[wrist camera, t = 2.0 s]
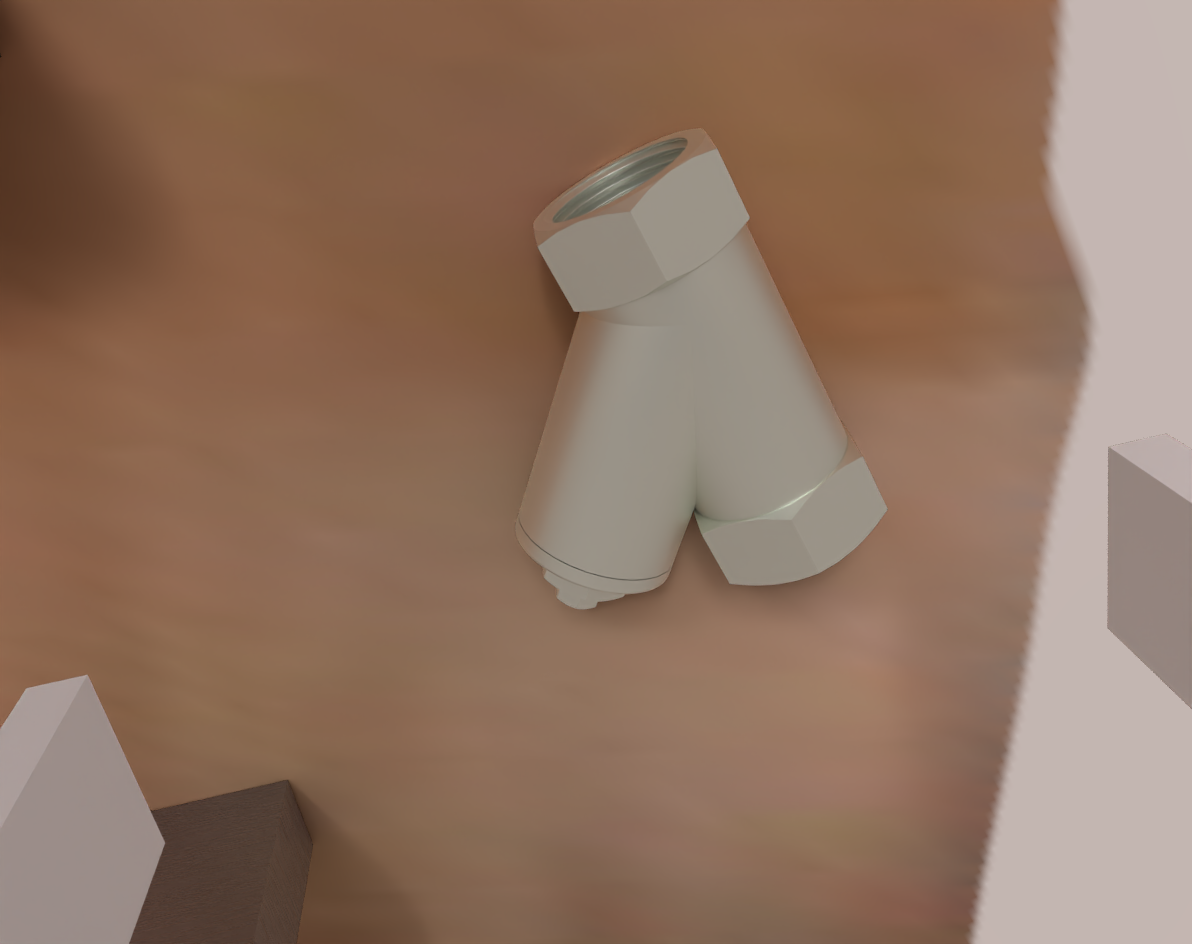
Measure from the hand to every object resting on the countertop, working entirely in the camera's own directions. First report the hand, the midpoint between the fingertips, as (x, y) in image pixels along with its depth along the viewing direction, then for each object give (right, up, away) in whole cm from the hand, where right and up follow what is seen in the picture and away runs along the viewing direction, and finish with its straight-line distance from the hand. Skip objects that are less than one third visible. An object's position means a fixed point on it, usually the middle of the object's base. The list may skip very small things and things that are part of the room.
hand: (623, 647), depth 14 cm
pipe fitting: (0, +4, +9) cm, 10 cm away
